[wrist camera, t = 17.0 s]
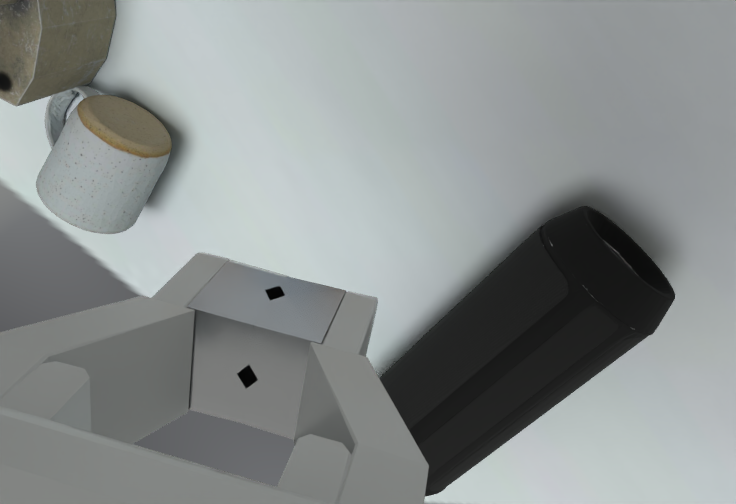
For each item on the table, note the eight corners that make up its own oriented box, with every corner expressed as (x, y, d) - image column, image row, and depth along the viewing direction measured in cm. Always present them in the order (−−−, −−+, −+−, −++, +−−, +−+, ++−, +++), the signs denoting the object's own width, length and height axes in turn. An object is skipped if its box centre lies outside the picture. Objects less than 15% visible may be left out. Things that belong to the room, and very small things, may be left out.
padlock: (53, 64, 47) (-121, 107, 34) (73, -43, 44) (-114, -41, 30) (100, 87, 47) (-55, 140, 34) (123, -17, 44) (-41, -4, 30)
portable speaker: (438, 444, 57) (426, 535, 48) (353, 380, 55) (325, 462, 46) (664, 262, 45) (704, 337, 36) (564, 177, 44) (580, 233, 35)
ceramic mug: (195, 136, 48) (142, 165, 41) (153, 213, 51) (99, 251, 45) (78, 53, 47) (5, 68, 40) (45, 137, 51) (-27, 165, 44)
